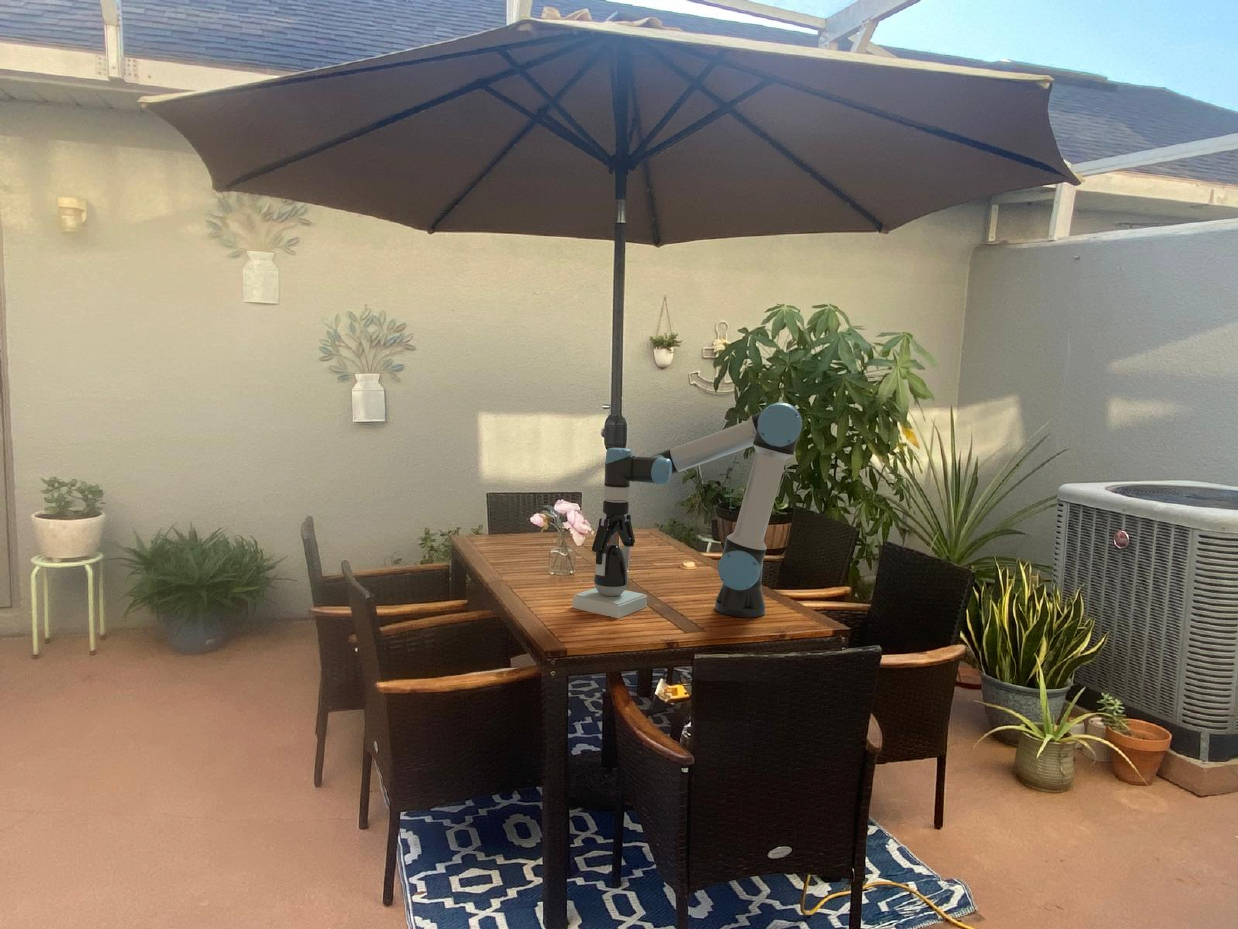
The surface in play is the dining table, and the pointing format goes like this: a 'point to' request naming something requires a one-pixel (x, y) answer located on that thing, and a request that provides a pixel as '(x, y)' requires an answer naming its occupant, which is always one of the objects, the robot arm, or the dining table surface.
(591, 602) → the plinth
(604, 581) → the black grey egg speaker
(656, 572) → the dining table surface
